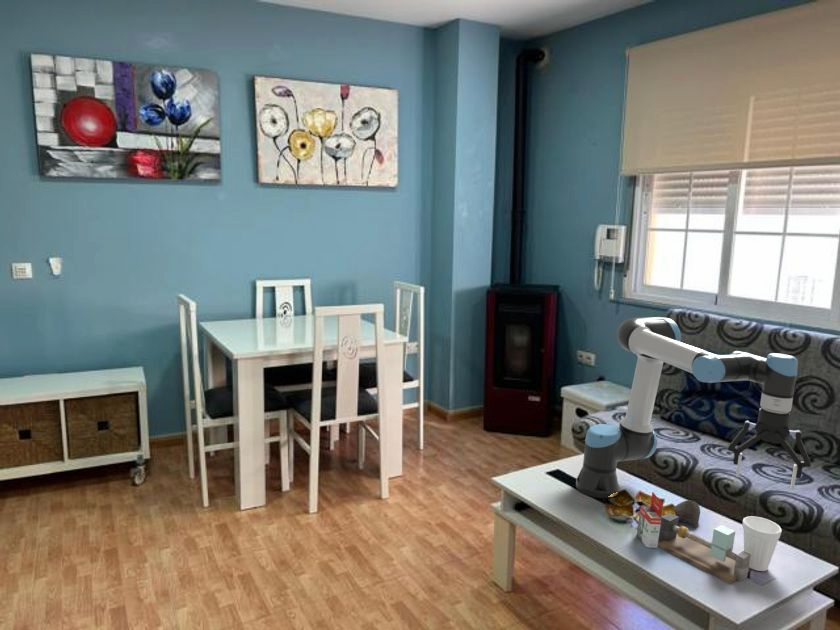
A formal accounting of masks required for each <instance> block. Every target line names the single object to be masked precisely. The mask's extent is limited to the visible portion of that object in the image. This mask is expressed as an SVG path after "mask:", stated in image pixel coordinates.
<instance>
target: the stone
mask: <svg viewBox="0 0 840 630" xmlns="http://www.w3.org/2000/svg"><path fill="white" fill-rule="evenodd" d="M673 508H674V511H675V514H676V516H678V517H679V520H678V522H684V523H687V524H690V525H691V526H693V527H694V528H698V526H699V521H700V516H701V508H700V505H699V503H698V502H696V501H695V500H691V499H690V500H689V499H687V500H683V501H682V502H679V503H678V504H677V505H675V506H673Z"/></svg>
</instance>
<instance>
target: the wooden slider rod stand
mask: <svg viewBox="0 0 840 630" xmlns="http://www.w3.org/2000/svg"><path fill="white" fill-rule="evenodd" d="M678 520H679V517H678V516H676V515H674V514H671V513H670V512H669V513H667V514H665V515H662V517H661V525H660V532H659V539H658V546H657V548H660V549H662V550H664V551H665V552H668V553H670V554H671V555H673V556H675V557H677V558H679V559H681V560H683V561H686V562H687V563H689V564H691V565H692V566H695V567H697V568H699V569H701V570H703V571H705V572H707V573H708V574H710V575H712V576H714V577H716V578H718V579H720V580H722V581H724V582H726V583H728V584H733V582H735V581H738V582H742V581H743V580H745V579H746V578H747V577H748V573H750V569H751V568H750V567H749V562H750V556H751V554H749V553H747V552H745V551H744V550H743V551H742V550H741V552H739V553H736V552H733V551H732V552H731V551H729V550H727V552H726V556H727V557H726V559H725V562H722V561H720V560H718V559H716V558H714V557H712V556H710V552H711V545H712V541H710V540H708V539H707V538H703V537H701V536H699V535H697V534H695V533H693V532H691V531H689V528H688V527H686V526H684V525H680V526H678V525H679V521H678ZM728 557H729V558H728Z"/></svg>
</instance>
